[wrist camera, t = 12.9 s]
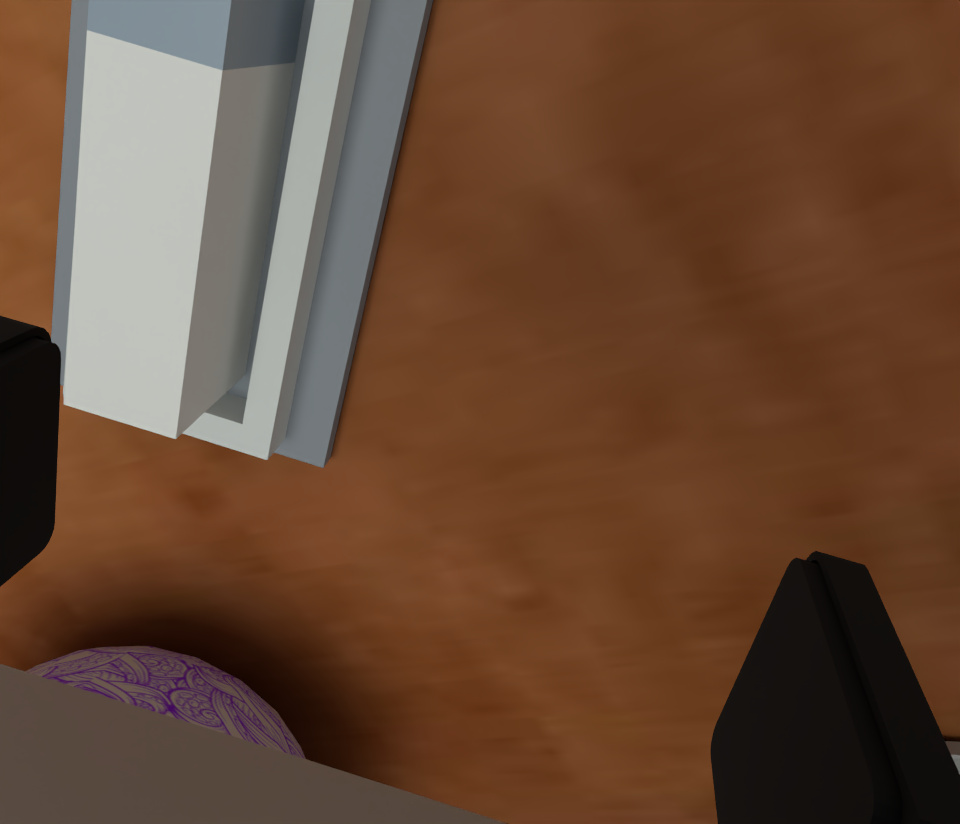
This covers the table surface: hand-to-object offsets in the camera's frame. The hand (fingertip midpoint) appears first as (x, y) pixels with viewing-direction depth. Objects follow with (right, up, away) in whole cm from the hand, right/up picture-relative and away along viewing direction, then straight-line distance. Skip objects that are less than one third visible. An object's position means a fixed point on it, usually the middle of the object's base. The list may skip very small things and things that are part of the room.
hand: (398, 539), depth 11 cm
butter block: (-8, +10, +21) cm, 25 cm away
